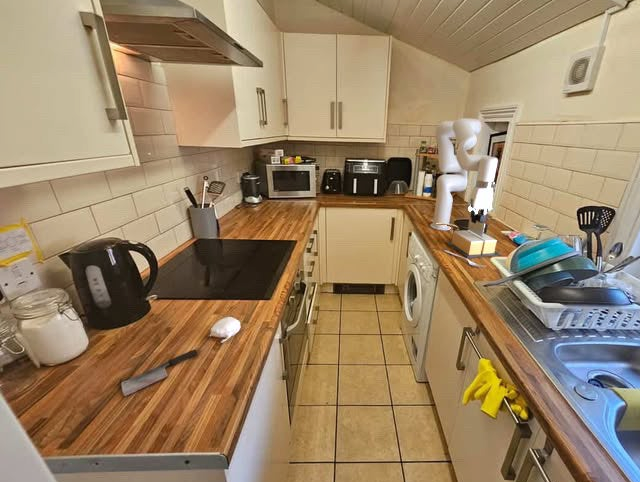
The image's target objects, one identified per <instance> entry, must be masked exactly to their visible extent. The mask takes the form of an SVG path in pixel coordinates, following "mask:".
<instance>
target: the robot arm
mask: <svg viewBox="0 0 640 482" xmlns="http://www.w3.org/2000/svg"><path fill="white" fill-rule="evenodd" d="M481 131H482V123H481V121H480V120H479V119H477V118H469V117H467V118H466V117H462V118H458V119H456V120H444V121H440V122H439V123H438V124H437V126H436V129H435V141H436V145H437V150H438V151H437V153H438V169H439V171H440V172H441V173H450V174H442V175H440V176H438V177H437V179H436V196H435V197H436V198H435V206H434V213H433V217H432V222H431V223H430V224H429V227H430V228H431V229H433V230H437V231H450V230H451V229H452V226H451V225H450V221H451V215H452V209H453V201H454V199H453V195H452V194H451V192H464V191H465V190H466V189H467V187H468V180H469V179H468V172H477V174H476V180H475V184H474V185H475V186H473V188H472V190H471V192H470V195H469V198H468V199H469V200H468V203H467V205H468V206H467V207H466V210H467V211H469V212H470V215H471V214H472V219H471V222H473V223H476V221H477V212H479V210H480V213H481V214H483V215H486V216H487V213H488V212H489V211H491V210H492V209H493V200H494V188H493V187H494V185H496V182H495V177H496V173H497V167H498V163H499V159H498V158H497V157H496V156H490V155H487V154H469V153H468V152H467V151H468V150H471V149H472V148H473V147H475V146H476V144H477V142H478V137H477V136H478V135H479V134H480V133H481ZM450 138H453V139H456V141H457V143H458V147H457V150H456V154H455V148H454V144H453V143H452V141H451V140H450ZM452 173H455V174H452ZM436 223H445V224H449V225H450V226H451V227H450V226H447V225H437V224H436Z"/></svg>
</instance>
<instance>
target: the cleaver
mask: <svg viewBox="0 0 640 482" xmlns="http://www.w3.org/2000/svg"><path fill="white" fill-rule="evenodd" d="M197 354H198V351H197V349H196V348H195V349H191V350H190V351H187V352H185V353H183V354H181V355H178V356H176V357H172V358H171V359H169V360H167V362H165V363H163V364H161V365H159V366H155V367H154V368H151V369H149V370H147V371H144V372H143V373H141V374H138V375H136V376H133V377H132V378H129V379H127V380H124V381H122V382H121V385H120V386H121V391H122V394H123V396H124V397H127V396H129V395H131V394H133V393H136V392H138V391H139V390H142V389H144V388H146V387H148V386H150V385H152V384H154V383H157V382H158V381H161V380H163V379H165V378H168V376H169V375H168V373H167V371H166V367H168V366H170V367H171V366H174V365H176V364H179V363H181V362H183V361H184V360H187V359H189V358H191V357H193V356H195V355H197Z"/></svg>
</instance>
